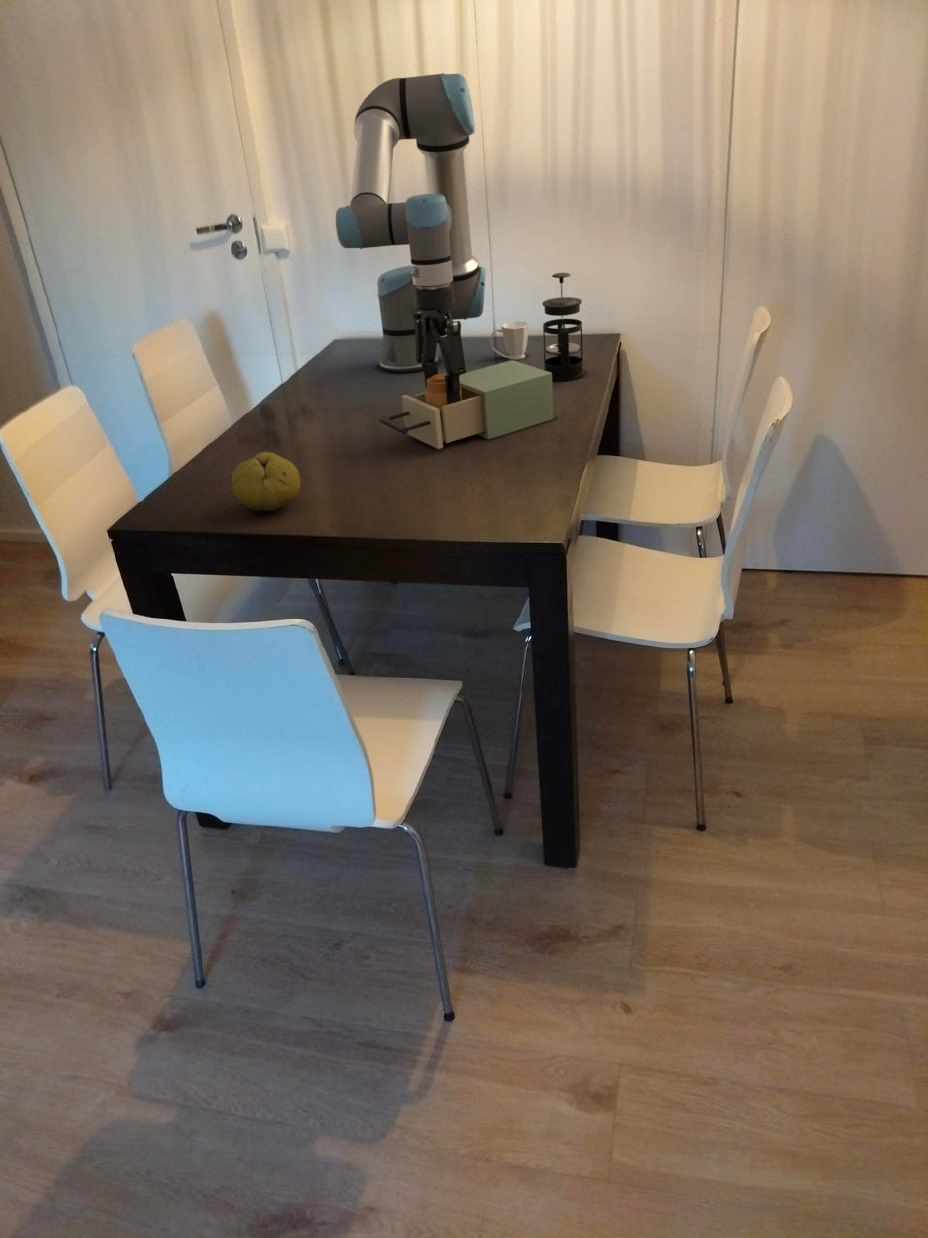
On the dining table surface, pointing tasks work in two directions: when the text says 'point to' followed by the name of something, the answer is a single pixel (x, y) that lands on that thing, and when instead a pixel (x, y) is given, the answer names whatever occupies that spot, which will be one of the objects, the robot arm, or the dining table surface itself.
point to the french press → (563, 336)
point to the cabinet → (511, 396)
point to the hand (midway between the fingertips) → (443, 403)
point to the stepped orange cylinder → (437, 391)
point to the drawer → (440, 419)
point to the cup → (513, 339)
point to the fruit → (265, 482)
